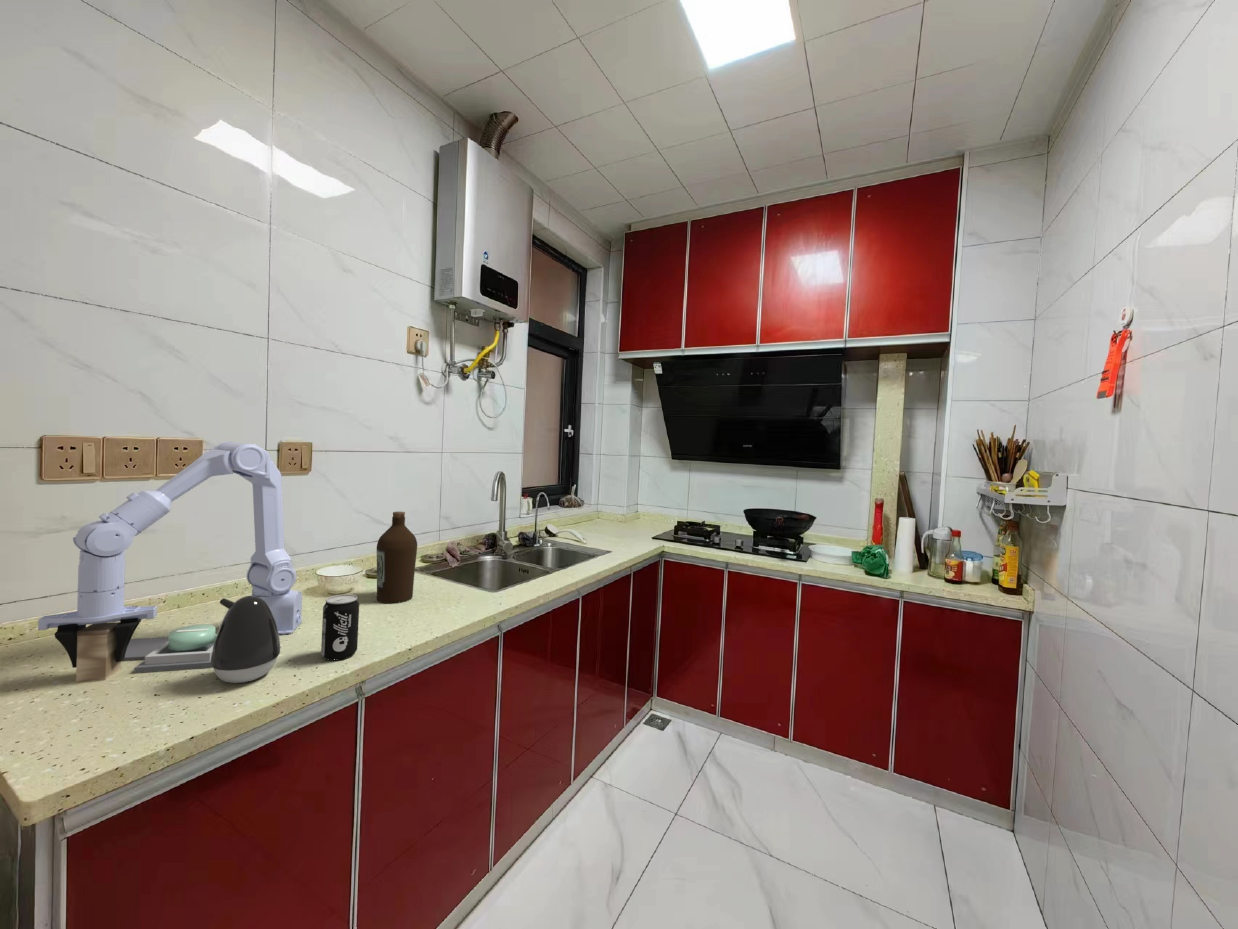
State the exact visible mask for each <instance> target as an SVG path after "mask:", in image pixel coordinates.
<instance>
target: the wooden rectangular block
mask: <svg viewBox="0 0 1238 929" xmlns="http://www.w3.org/2000/svg"><path fill="white" fill-rule="evenodd" d="M118 623H120V621H117V622H107V623H97V624H89V625H88V626H86V628H84V629H81V630H79V631H77V667H76V674H75V675H76V676H75V678H76V679H75V682H76V683H83V682H94V681H93V680H98V681H106V680H108V679H110V678H111V677H112V676H114V675H115V674H116V672H117V673H118V672H120V671H121V669H122V661H121V662H116V661H115V655H116V634H115V626H116V625H117V624H118ZM119 670H120V671H119ZM110 676H111V677H110ZM107 678H108V679H107Z"/></svg>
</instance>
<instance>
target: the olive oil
mask: <svg viewBox="0 0 1238 929" xmlns="http://www.w3.org/2000/svg"><path fill="white" fill-rule="evenodd" d="M405 514H406V512H405V511H393V512H392V518H391V519H392V520H391V521H392V522H391V526H389V527H388V529H387V530H385V531H384V533H382V534H381V536H380V537H379V538H378V540H377V544H376V600H377V601H378V602H379V603H383V604H398V603H399V602H400V603H403V601H405V602H408V601H410V600H411V599H412V598H413V596H414V595H413V594H414V582H415V573H416V572H415V571H416V565H417V564H416V561H417V554H418V541H417V538H416V536H415V535H414V534H413V532H412V531H411V530H410V529H409V528H408V527H407V526H406V524H405V523H406V516H405ZM409 599H410V600H409ZM407 600H408V601H407Z"/></svg>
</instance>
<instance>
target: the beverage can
mask: <svg viewBox="0 0 1238 929" xmlns="http://www.w3.org/2000/svg"><path fill="white" fill-rule="evenodd" d="M359 618H360V603H359V600H358V596H357V595H355V594H346V593H345V594H335V595H332V596H329V597H327V598H326V599H325V603H324V605H323V607H322V623H321V624H322V625H321V627H322V628H321V649H320V654H321V656H322V657H323V658H324V659H325V660H327V659H329V660H328V661H337V660H336V659H342V660H345V659H347V658H346V657H348V658H350V657H352V656H353V655H354V654H355V653H356V652H357V650H358V640H359V638H358V637H359V622H360V620H359ZM352 654H353V655H352ZM351 655H352V656H351ZM349 656H350V657H349ZM344 658H345V659H344ZM334 659H335V660H334Z"/></svg>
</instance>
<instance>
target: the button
mask: <svg viewBox="0 0 1238 929" xmlns="http://www.w3.org/2000/svg"><path fill="white" fill-rule="evenodd" d="M215 634H216V626H215V625H213V624H207V623H206V624H194V625H187V626H184V627H180V628H176V629H173V630H172V631H170V632H169V633H168V636H167V637H168V648H169V649H170V650H175V651H183V650H192V649H197V648H201V647H204V646H207V645H209V644H211V643H213V642H214V641H215Z"/></svg>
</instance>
